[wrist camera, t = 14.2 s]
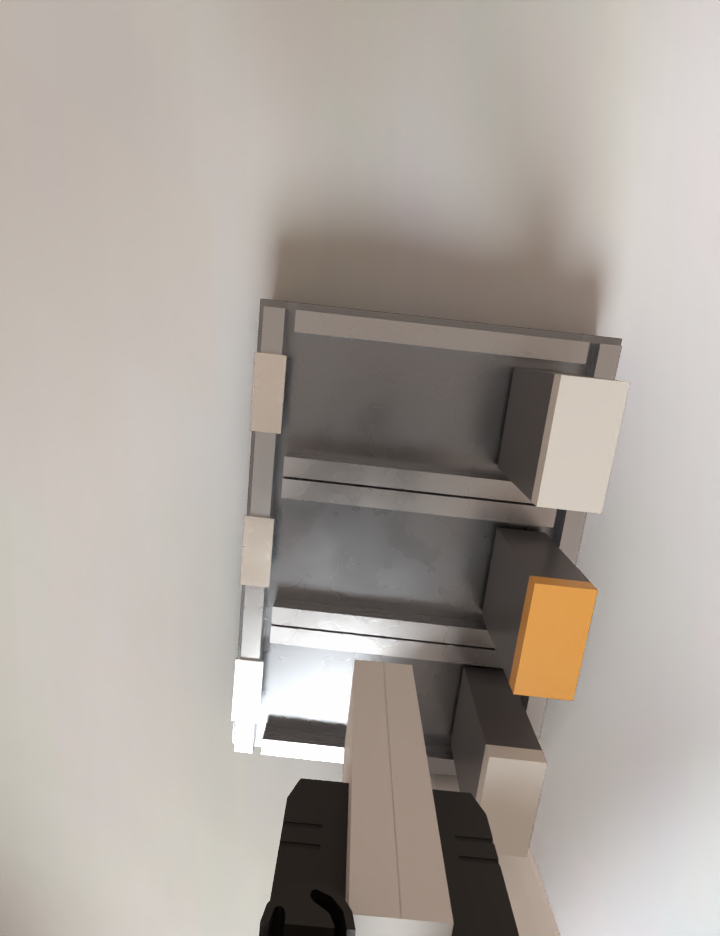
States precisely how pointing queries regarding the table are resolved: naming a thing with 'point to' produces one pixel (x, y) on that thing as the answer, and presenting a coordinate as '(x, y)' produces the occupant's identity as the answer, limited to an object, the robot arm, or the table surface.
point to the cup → (517, 882)
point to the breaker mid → (537, 613)
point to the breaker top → (561, 437)
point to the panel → (380, 513)
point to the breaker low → (498, 757)
